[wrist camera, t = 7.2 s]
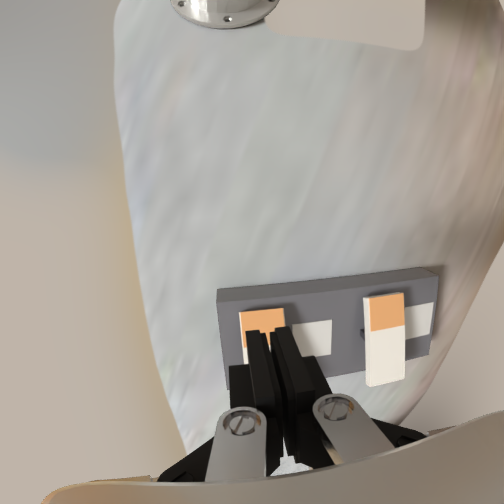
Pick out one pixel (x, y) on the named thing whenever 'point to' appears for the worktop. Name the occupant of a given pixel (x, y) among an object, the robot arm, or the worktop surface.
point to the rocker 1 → (260, 324)
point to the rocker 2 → (384, 338)
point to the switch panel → (332, 315)
